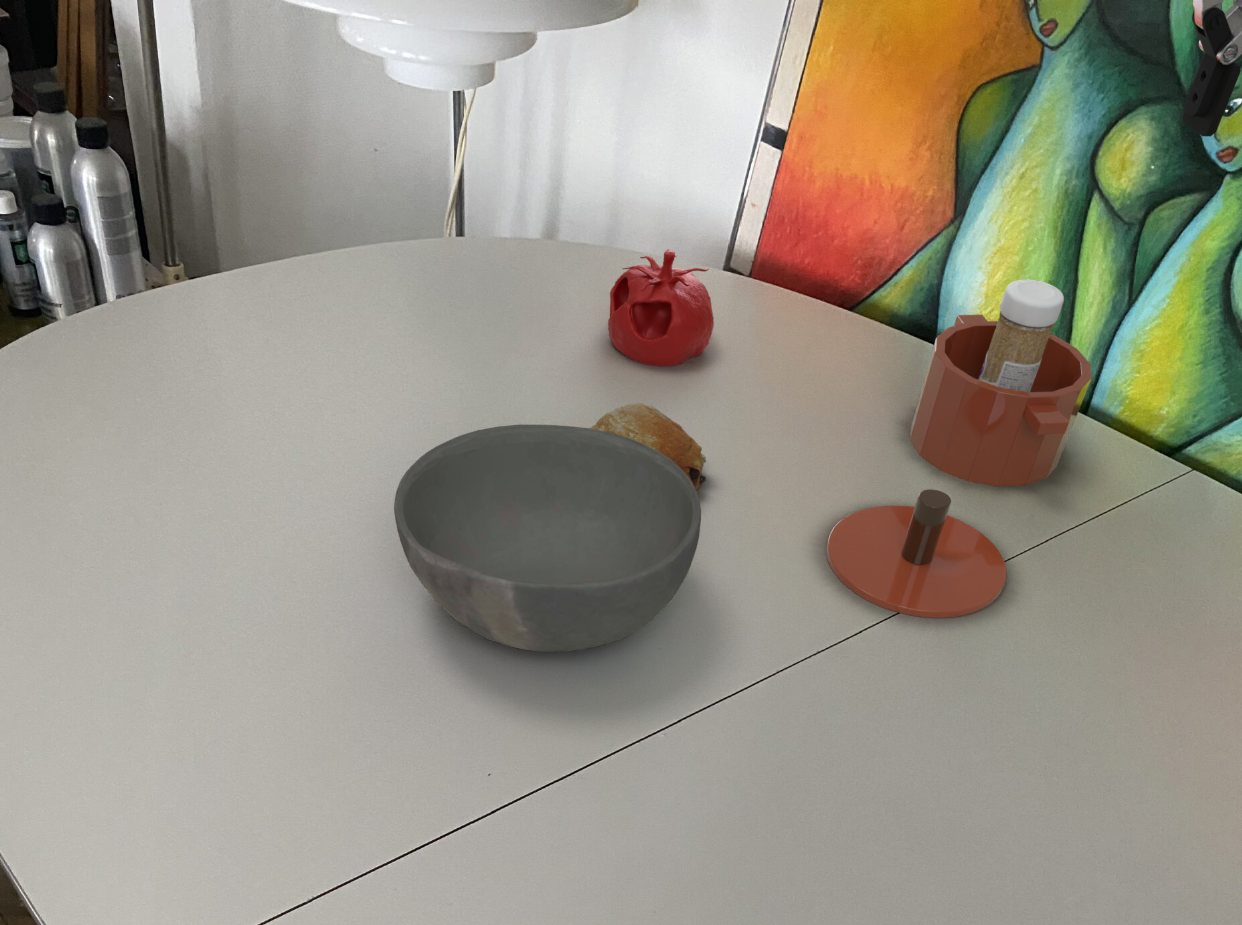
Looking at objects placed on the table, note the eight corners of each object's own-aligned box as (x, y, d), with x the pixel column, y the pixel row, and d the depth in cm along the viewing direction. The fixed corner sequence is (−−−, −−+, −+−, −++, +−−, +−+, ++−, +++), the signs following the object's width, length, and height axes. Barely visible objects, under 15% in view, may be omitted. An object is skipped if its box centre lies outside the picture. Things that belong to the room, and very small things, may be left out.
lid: (963, 514, 98) (986, 445, 93) (1030, 619, 89) (1059, 548, 85) (803, 521, 96) (819, 451, 91) (855, 630, 87) (876, 558, 83)
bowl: (737, 599, 89) (759, 478, 81) (581, 754, 77) (591, 629, 69) (515, 501, 95) (517, 380, 88) (341, 630, 83) (326, 503, 76)
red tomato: (667, 318, 117) (677, 217, 110) (730, 363, 112) (746, 260, 105) (582, 340, 113) (588, 236, 106) (644, 387, 108) (654, 282, 101)
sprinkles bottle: (954, 430, 106) (1003, 274, 96) (1006, 435, 106) (1060, 280, 96) (960, 457, 103) (1011, 299, 93) (1013, 463, 103) (1070, 306, 93)
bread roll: (616, 483, 104) (584, 395, 99) (727, 462, 99) (698, 369, 94) (577, 544, 98) (540, 453, 93) (693, 525, 93) (660, 429, 88)
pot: (1008, 397, 112) (1039, 305, 105) (1092, 507, 100) (1133, 412, 94) (879, 400, 109) (903, 307, 103) (950, 514, 98) (982, 416, 92)
